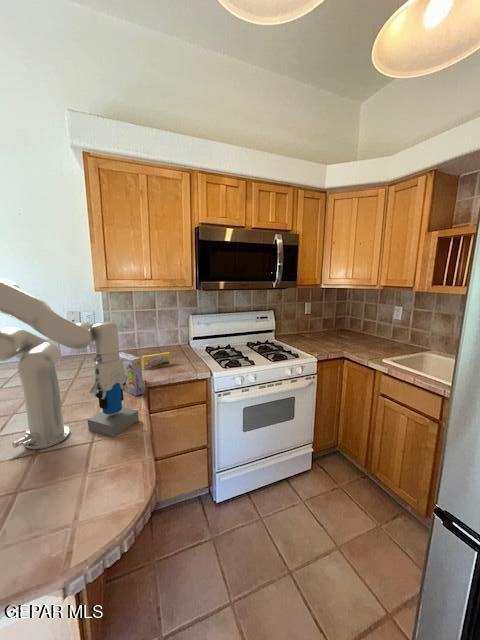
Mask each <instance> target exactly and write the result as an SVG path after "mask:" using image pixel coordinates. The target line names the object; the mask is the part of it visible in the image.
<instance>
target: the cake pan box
mask: <svg viewBox="0 0 480 640" xmlns="http://www.w3.org/2000/svg"><path fill="white" fill-rule="evenodd" d="M119 355H120V358H122V361H123V364H124V369H125V375H127V376H128V379H127V381H126V384H125V386H124V390H123V391H125V392H127V393H129V394H131V395H133V396H135V397H136V396H140V395H142V394H145V388H144V380H143V379H144V378H143V372H142V370H143V368H142V361H141V357H138V356H135V355H133V354H130V353H125V352H122V351H121V352H120V351H119Z"/></svg>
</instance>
